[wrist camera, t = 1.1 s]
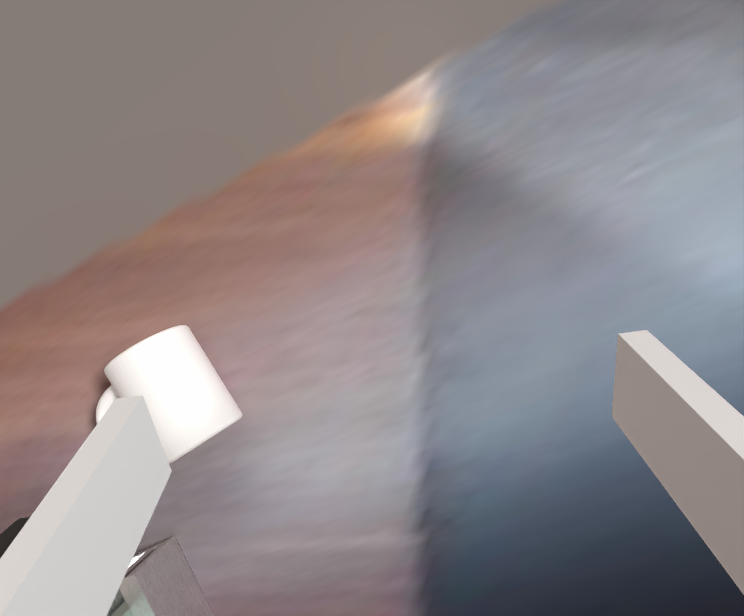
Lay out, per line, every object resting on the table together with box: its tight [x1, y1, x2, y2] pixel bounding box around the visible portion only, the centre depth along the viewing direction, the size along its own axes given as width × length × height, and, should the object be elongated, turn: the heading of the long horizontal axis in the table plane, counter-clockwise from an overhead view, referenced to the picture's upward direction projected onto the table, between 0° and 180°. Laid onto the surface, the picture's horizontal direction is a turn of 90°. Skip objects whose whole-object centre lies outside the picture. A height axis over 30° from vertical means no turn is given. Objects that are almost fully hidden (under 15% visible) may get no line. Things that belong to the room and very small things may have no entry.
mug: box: [96, 325, 242, 464], centre depth 47 cm, size 12×10×8 cm
